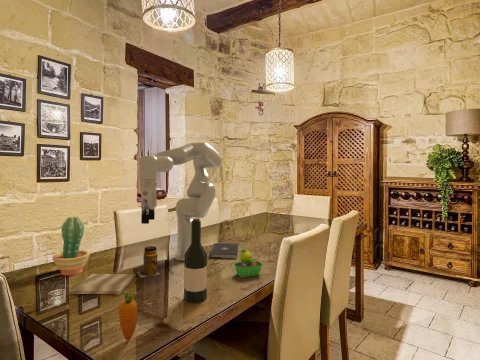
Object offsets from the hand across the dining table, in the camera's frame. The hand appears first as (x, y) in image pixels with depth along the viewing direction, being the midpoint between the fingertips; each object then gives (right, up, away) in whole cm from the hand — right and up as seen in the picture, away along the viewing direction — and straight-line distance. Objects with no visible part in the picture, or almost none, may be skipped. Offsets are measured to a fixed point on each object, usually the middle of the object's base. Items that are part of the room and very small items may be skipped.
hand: (148, 221), depth 141 cm
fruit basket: (+45, -25, +3) cm, 51 cm away
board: (-14, -24, -13) cm, 31 cm away
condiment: (0, -24, +1) cm, 24 cm away
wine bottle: (+25, -26, -24) cm, 43 cm away
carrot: (+10, -27, -52) cm, 60 cm away
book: (+33, -23, +37) cm, 54 cm away
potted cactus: (-35, -23, +2) cm, 42 cm away
